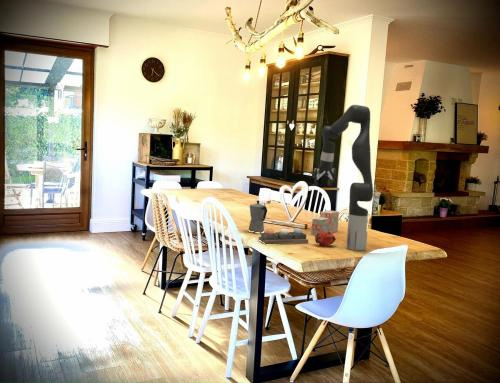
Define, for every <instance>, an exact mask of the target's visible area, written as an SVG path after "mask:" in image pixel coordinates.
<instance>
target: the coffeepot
mask: <svg viewBox="0 0 500 383" xmlns="http://www.w3.org/2000/svg"><path fill="white" fill-rule="evenodd" d="M267 213H268V208H267V206H266V205H264V204H261V203H260V200H258V199H257V200H256V203H253V204H249V214H250V221H249V226H248V230H250V231H254V232H263V231H264V232H265V225H264V222H265V220H266V217H267Z"/></svg>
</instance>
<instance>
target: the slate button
mask: <svg viewBox="0 0 500 383" xmlns="http://www.w3.org/2000/svg"><path fill="white" fill-rule="evenodd" d="M292 232H293V233H294V234H302V233H303V229H302V228H297V227H296V228H293V231H292Z"/></svg>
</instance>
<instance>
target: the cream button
mask: <svg viewBox="0 0 500 383" xmlns="http://www.w3.org/2000/svg"><path fill="white" fill-rule="evenodd" d="M279 232H280V234H281V235H287V234H288V233H289V229H288V228H280V229H279Z"/></svg>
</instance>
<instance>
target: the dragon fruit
mask: <svg viewBox="0 0 500 383" xmlns="http://www.w3.org/2000/svg"><path fill="white" fill-rule="evenodd" d="M314 240H315V243H316V244H318V245H319V246H320V247H322V246H323V247H327V246H328V247H332V246H333V245H332V244H334V243H335V242H336V240H337V238H336V237H335V235H334V234H333V233H330V232H329V231H328V232H325V231H323V232H321V231H319V232H318V233H317V234H316V235H314Z"/></svg>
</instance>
